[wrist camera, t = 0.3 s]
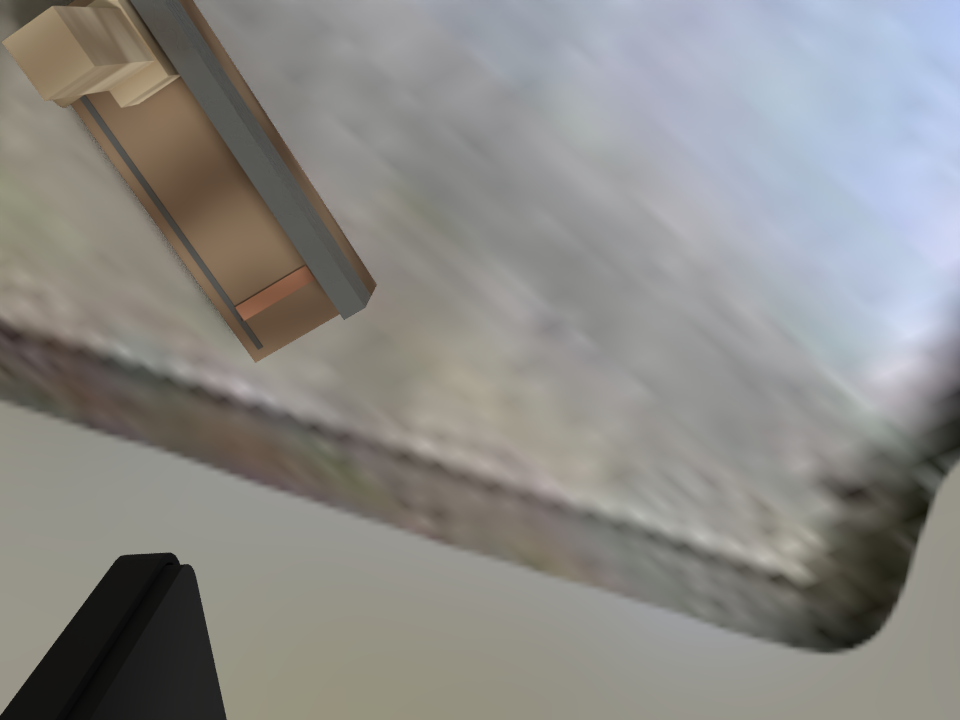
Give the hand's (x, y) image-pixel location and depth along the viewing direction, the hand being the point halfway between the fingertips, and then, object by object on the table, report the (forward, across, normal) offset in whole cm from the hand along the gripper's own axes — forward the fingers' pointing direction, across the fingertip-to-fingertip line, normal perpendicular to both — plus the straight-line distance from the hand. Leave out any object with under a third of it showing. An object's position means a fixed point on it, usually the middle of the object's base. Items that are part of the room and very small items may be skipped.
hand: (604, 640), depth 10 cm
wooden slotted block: (+36, +15, -2) cm, 39 cm away
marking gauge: (+34, +18, -7) cm, 39 cm away
